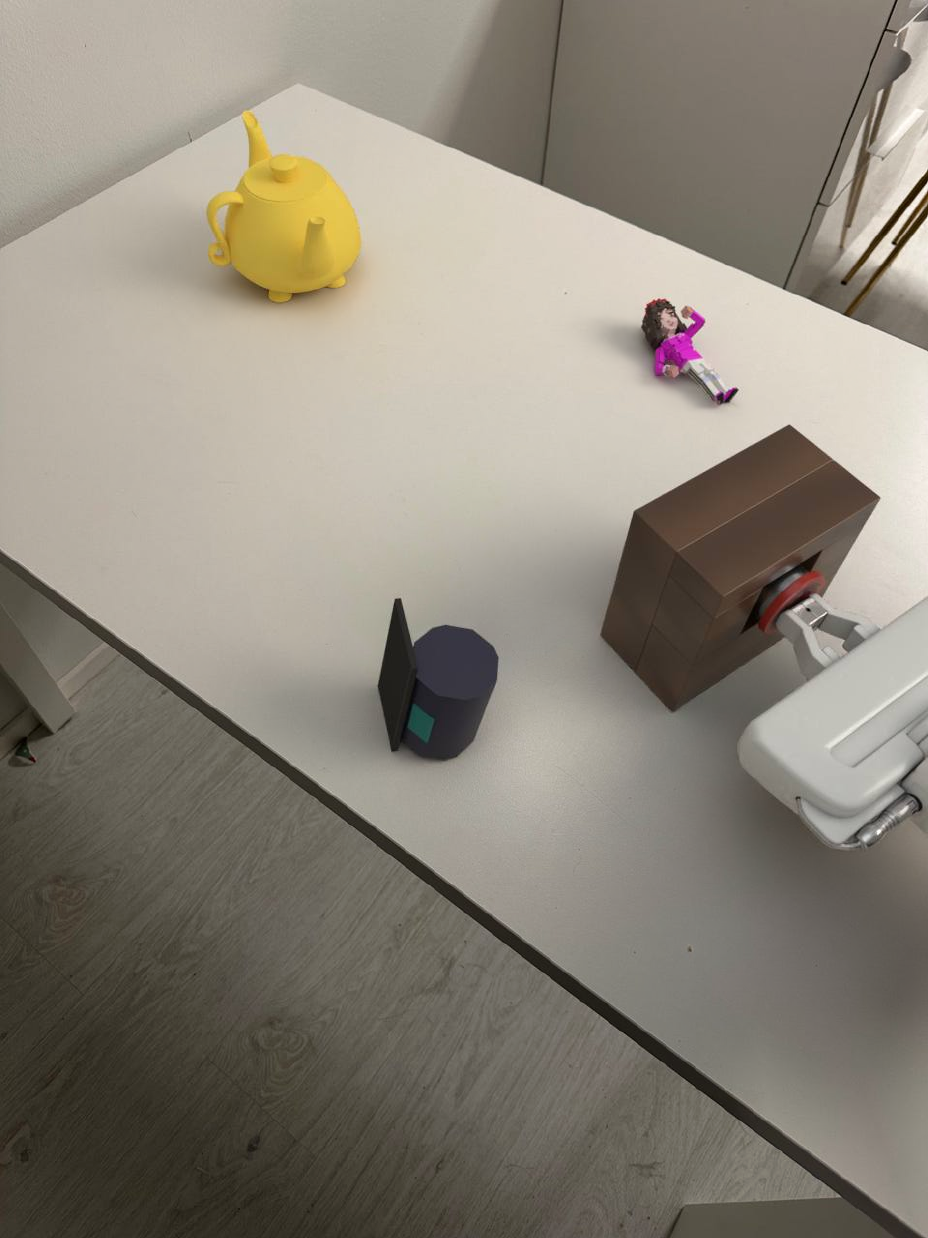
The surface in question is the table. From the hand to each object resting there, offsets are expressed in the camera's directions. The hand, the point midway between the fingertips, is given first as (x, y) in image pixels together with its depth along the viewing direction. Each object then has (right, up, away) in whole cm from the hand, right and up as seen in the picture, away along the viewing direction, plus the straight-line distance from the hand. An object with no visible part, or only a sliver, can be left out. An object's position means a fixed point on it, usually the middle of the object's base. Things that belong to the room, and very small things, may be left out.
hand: (793, 607), depth 61 cm
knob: (-1, 0, +3) cm, 3 cm away
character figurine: (-1, +22, +27) cm, 35 cm away
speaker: (-23, -8, +5) cm, 25 cm away
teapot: (-39, +33, +33) cm, 61 cm away
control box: (-3, -1, +10) cm, 10 cm away
